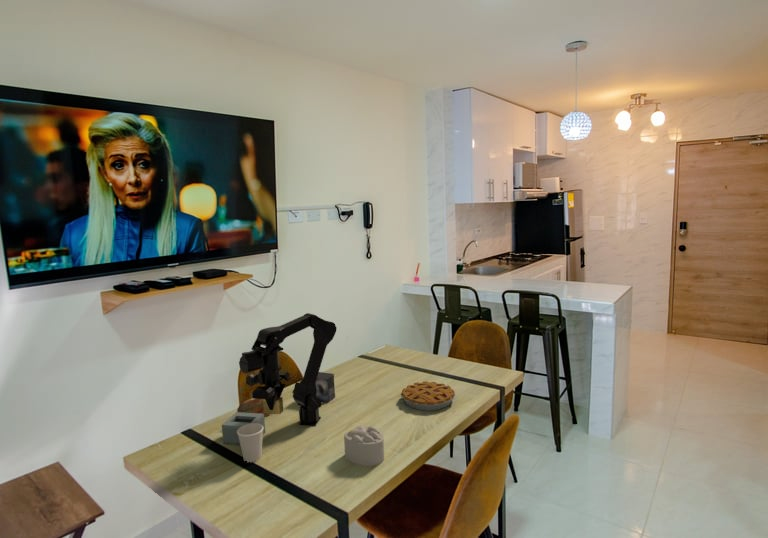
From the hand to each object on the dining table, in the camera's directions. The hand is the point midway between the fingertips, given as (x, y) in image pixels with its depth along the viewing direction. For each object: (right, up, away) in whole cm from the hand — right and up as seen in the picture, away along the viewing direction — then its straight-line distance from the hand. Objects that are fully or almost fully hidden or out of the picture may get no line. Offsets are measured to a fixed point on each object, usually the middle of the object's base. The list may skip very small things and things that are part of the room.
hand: (273, 407), depth 167 cm
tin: (-10, -9, +17) cm, 22 cm away
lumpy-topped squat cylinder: (+33, -12, -13) cm, 38 cm away
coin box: (-11, -11, +2) cm, 16 cm away
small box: (+12, -6, +34) cm, 36 cm away
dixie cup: (-4, -13, -12) cm, 18 cm away
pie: (+57, -5, +27) cm, 63 cm away
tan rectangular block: (0, -2, 0) cm, 2 cm away
